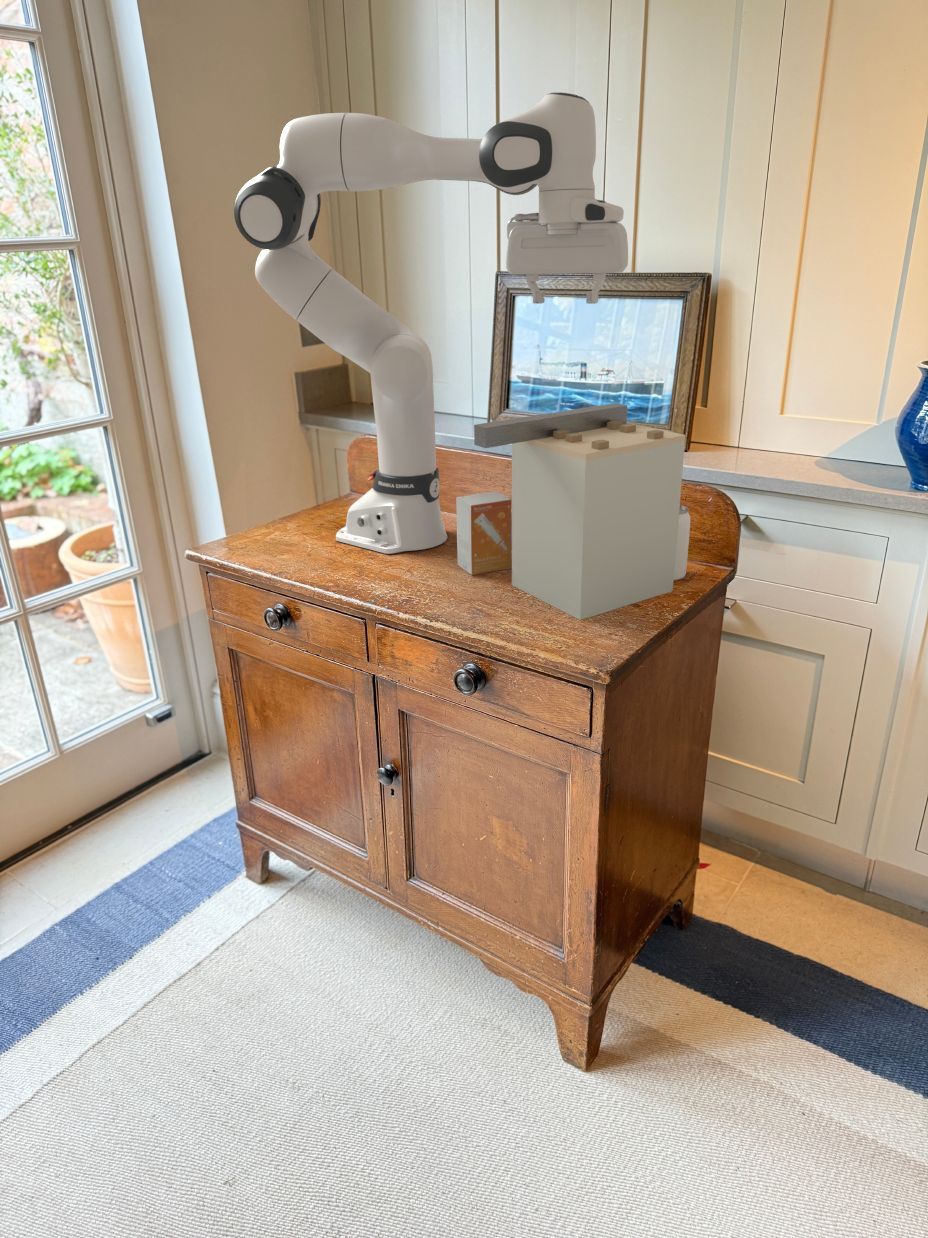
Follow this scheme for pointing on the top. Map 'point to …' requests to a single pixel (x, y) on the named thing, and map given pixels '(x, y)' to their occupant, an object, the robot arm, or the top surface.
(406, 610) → the top surface
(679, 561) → the can
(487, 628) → the top surface
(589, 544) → the stand
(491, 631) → the top surface
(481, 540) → the small box
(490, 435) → the long grey bar
